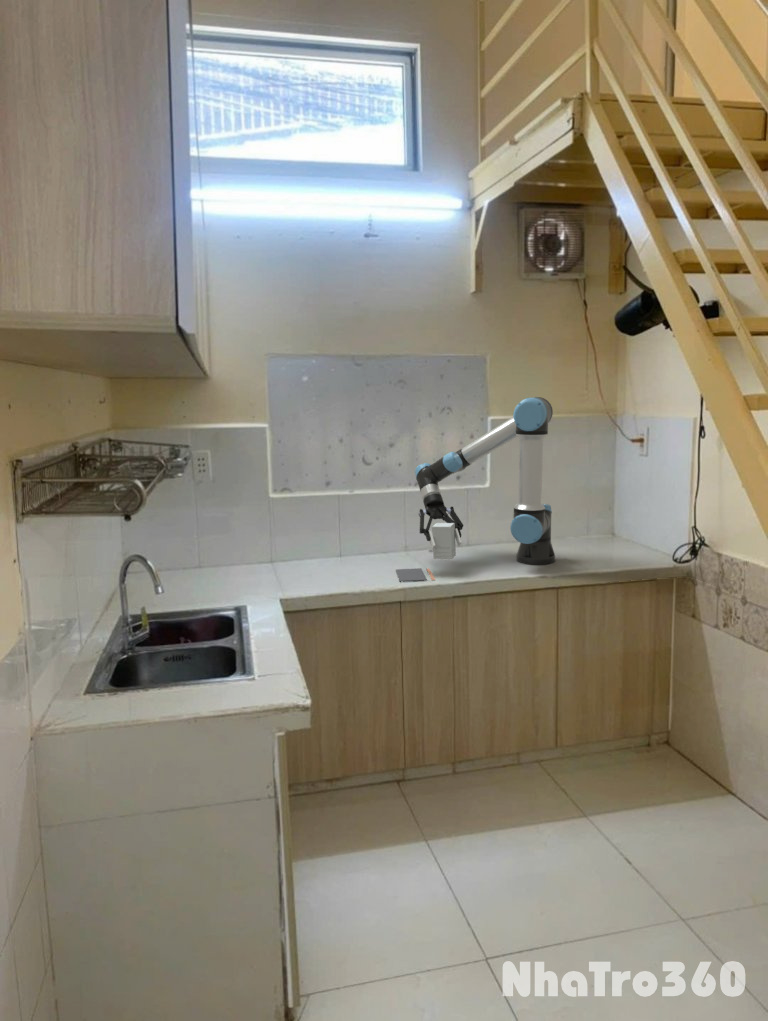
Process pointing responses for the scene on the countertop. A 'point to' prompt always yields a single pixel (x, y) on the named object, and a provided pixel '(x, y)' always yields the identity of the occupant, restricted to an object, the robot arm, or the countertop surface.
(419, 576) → the mat
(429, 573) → the terracotta line
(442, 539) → the supplement box
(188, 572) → the countertop surface
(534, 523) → the robot arm
